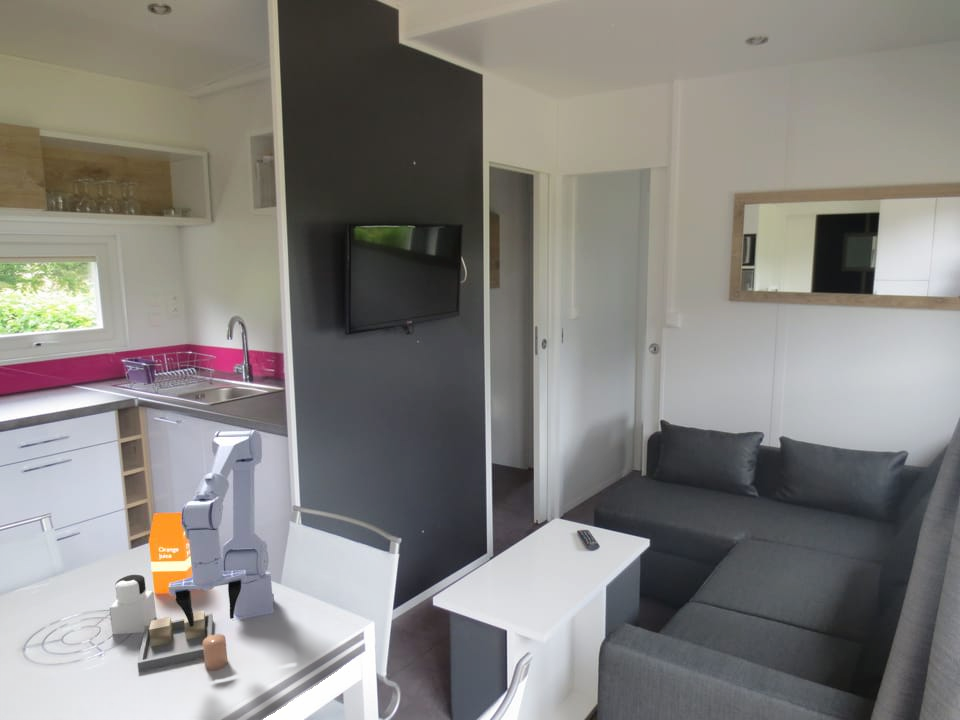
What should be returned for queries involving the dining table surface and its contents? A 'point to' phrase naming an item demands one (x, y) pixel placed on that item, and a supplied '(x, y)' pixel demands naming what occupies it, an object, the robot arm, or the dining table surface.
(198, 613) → the birch block
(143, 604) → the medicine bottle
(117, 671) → the dining table surface
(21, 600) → the dining table surface
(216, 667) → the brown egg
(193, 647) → the tray
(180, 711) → the dining table surface
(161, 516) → the orange juice
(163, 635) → the birch block
